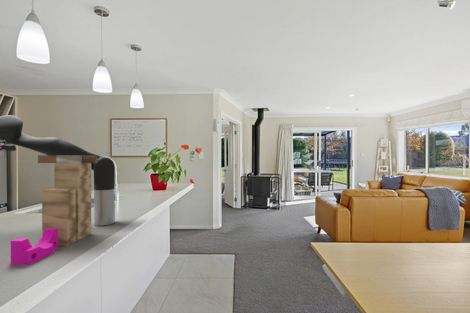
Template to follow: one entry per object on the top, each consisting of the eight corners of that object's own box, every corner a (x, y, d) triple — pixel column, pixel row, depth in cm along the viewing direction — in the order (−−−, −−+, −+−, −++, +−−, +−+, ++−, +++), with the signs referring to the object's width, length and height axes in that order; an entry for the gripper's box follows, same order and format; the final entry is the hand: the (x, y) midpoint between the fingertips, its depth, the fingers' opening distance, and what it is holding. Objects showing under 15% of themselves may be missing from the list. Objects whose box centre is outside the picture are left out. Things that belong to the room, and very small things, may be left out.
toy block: (28, 265, 86) (28, 241, 86) (10, 264, 87) (10, 240, 87) (63, 249, 101) (63, 228, 101) (48, 248, 102) (48, 228, 102)
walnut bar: (43, 162, 118) (43, 155, 118) (97, 162, 117) (97, 155, 117) (37, 163, 115) (37, 155, 115) (92, 163, 113) (92, 155, 113)
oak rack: (69, 233, 121) (69, 155, 121) (91, 233, 120) (91, 155, 120) (42, 244, 105) (41, 155, 105) (67, 245, 105) (66, 155, 104)
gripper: (-21, 149, 103) (23, 151, 104) (-53, 173, 92) (-2, 176, 93) (-31, 132, 99) (15, 135, 100) (-66, 156, 88) (-13, 158, 88)
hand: (7, 155), depth 96 cm, fingers open, 8 cm apart
